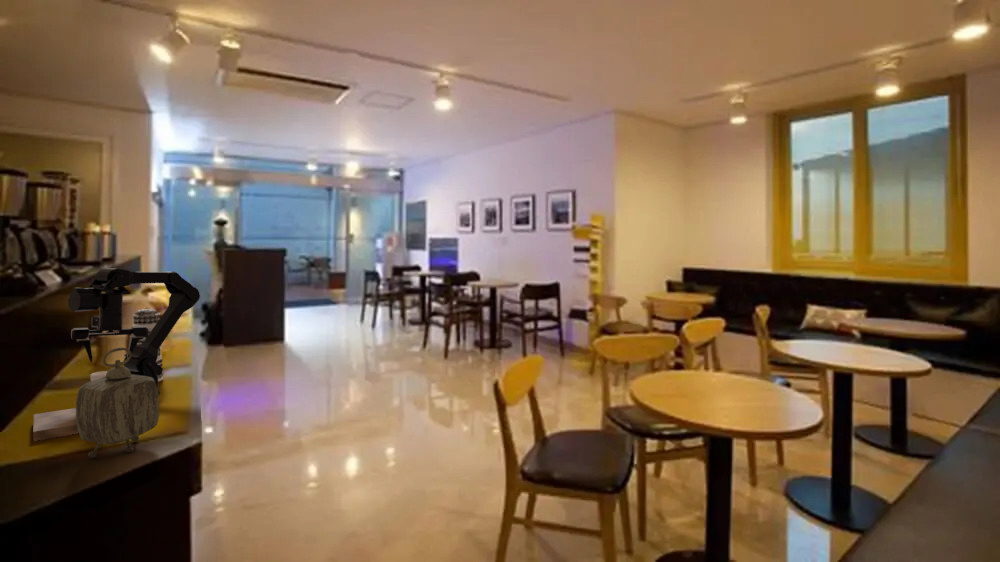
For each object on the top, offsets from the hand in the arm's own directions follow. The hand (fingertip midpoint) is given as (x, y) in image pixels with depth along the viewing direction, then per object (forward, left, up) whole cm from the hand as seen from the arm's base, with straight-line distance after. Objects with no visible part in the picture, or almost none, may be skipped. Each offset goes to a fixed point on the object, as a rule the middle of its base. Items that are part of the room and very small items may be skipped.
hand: (110, 360), depth 166 cm
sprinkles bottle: (+3, +17, -13) cm, 22 cm away
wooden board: (+8, +17, -13) cm, 23 cm away
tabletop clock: (+1, +46, -13) cm, 48 cm away
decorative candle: (-13, -23, -13) cm, 29 cm away
